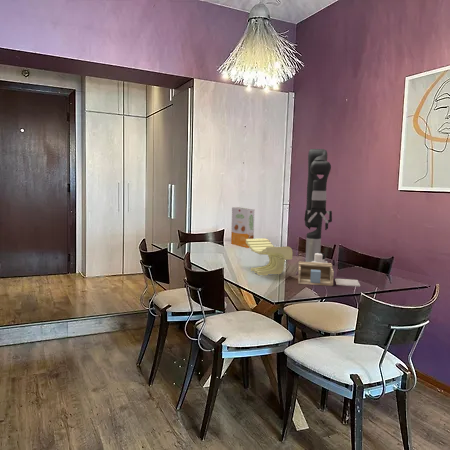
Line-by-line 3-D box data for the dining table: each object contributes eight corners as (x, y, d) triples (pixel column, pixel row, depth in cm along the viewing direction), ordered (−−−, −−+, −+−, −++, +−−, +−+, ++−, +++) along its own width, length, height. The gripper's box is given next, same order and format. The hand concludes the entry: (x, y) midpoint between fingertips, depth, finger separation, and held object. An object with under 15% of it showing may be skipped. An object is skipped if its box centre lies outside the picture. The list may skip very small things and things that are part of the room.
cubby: (298, 275, 241) (298, 261, 240) (330, 277, 238) (331, 263, 237) (298, 283, 223) (298, 268, 222) (333, 286, 220) (333, 270, 219)
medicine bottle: (316, 271, 254) (317, 251, 253) (327, 273, 250) (328, 253, 248) (310, 273, 249) (311, 253, 247) (321, 275, 244) (322, 254, 243)
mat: (334, 279, 234) (334, 278, 234) (357, 280, 232) (357, 279, 232) (336, 285, 222) (336, 283, 222) (360, 286, 220) (360, 285, 220)
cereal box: (253, 247, 332) (254, 209, 328) (246, 248, 329) (247, 209, 325) (237, 243, 351) (238, 207, 347) (231, 243, 348) (232, 207, 344)
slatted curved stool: (291, 277, 237) (292, 246, 235) (265, 279, 232) (266, 247, 229) (268, 266, 265) (269, 238, 263) (245, 267, 260) (245, 238, 258)
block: (310, 280, 229) (310, 269, 228) (319, 280, 228) (320, 269, 227) (310, 282, 224) (311, 271, 223) (320, 283, 223) (320, 272, 222)
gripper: (332, 199, 226) (330, 229, 228) (305, 198, 228) (303, 228, 230) (333, 200, 219) (331, 231, 220) (305, 199, 221) (304, 230, 223)
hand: (317, 229), depth 225 cm, fingers open, 8 cm apart
